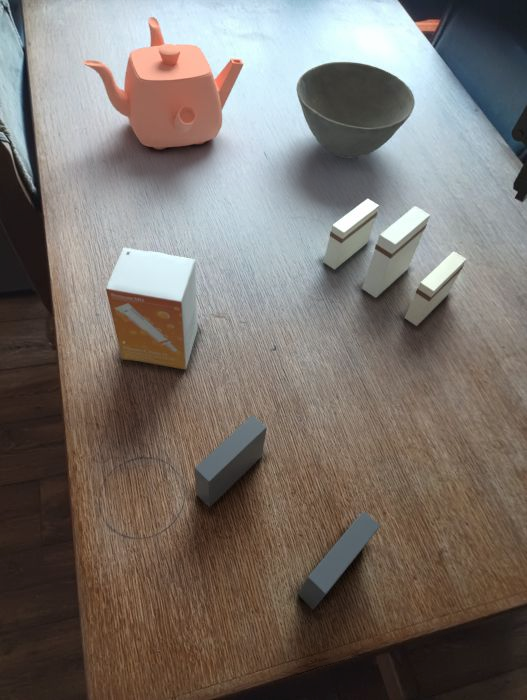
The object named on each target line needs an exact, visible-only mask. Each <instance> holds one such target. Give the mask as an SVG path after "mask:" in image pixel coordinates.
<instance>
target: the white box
mask: <svg viewBox="0 0 527 700" xmlns="http://www.w3.org/2000/svg"><path fill="white" fill-rule="evenodd" d="M430 217H431V214H429V213H428V212H426V211H425V210H423V209H421V208H419V207H418V206H416V205H415V206H413V207H412V208H411V209H409V210H408V211H406V213H404V214H403V215H402V216H401V217H399V218H398V219H397V220H396V221H394V222H393V223H392V224H391V225H390V226H389V227H387V228H386V229H385V230H384V231H382V232H381V233H380V234H379V236H378V239H377V241H376V244H375V247H374V251H373V254H372V258H371V260H370V263H369V265H368V270H367V272H366V276H365V279H364V281H363V284H362V288H361V289H362V290H363V291H364V292H366V293H367V294H369V295H371V296H372V297H374V298H375V299H376V298H377V297H379V296H380V295H381V294H382V293H383V292H384V291H385V290H386V289H387V288H389V287H390V286H391V285H392V284H393V283H394V282H395V281H396V280H397V279H399V278H400V277H401V276H402V275H403V274H404V273H405V272H406V271H407V270H408V269H409V267H410V265H411V262H412V260H413V258H414V255H415V253H416V250H417V248H418V247H419V244H420V241H421V238H422V237H423V233H424V231H425V229H426V228H427V226H428V225H427V224H428V222H429V219H430Z"/></svg>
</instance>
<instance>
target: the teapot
mask: <svg viewBox="0 0 527 700" xmlns="http://www.w3.org/2000/svg"><path fill="white" fill-rule="evenodd" d="M147 22H148V28H149V35H150V46H146V47H141V48H137V49H133V50H131V51H130V53H129V55H128V59H127V65H126V70H125V75H124V85H123V86H124V88H123V89H122V88H120V87H119V86H118V85H117V83H116V80H115V77H114V75H113V72H112V71H111V69H110V67H109V66H107V64H105V63H103V62H102V61H98V60H90V59H89V60H88V59H87V60H83V61H82V64H83V65H84V66H86V67H89V68H90V69H92V70H94V71H95V72H96V73H97V74H98V75H99V77H100V79H101V81H102V83H103V85H104V88H105V92H106V94H107V97H108V100H109V102H110V103H111V105H112V107H113V108H114V109H115V111H117V112H118V113H119V114H121V115H122V116H124V117H127V120H128V121H129V124H130V126H131V129H132V130H133V132H134V135H135V136H136V138H137V139H138V141H139V143H140V144H142V145H143V146H146V147H149V148H154V149H155V150H165V149H166V148H176V147H184V146H190V145H202V144H205V143H206V142H207V141H212V140H214V139H215V138H216V137H217V136H218V134H219V132H220V131H221V128H222V126H223V109H224V107H225V105H226V103H227V100H228V98H229V96H230V94H231V92H232V91H233V88H234V86H235V84H236V81H237V79H238V77H239V75H240V73H241V71H242V69H243V66H244V62H243V60H242V59H241V58H230V59H229V61H228V62H227V64H226V65H225V66H224V67H223V68H222V69H221V71H220V73H219V74H218V75H217V76H216V77H214V74H213V71H212V68H211V66H210V63H209V61H208V59H207V57H206V55H205V54H204V52H203V50H202V49H201V48H200V47H199V46H198V45H194V44H185V43H184V44H183V43H182V44H179V43H178V44H175V43H166V42H165V40H164V36H163V33H162V28H161V25H160V23H159V21H158V20H157V18H155V17H153V16H150V17H148V21H147Z"/></svg>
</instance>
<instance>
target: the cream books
mask: <svg viewBox="0 0 527 700" xmlns="http://www.w3.org/2000/svg"><path fill="white" fill-rule="evenodd" d="M379 207H380V205H379V204H377V203H376V202H374V201H373V200H371V199H369V198H366V199H365V200H364V201H362V202H361V203H360V204H359V205H357V206H355V207H354V208H353V209H352V210H350V211H348V213H346V214H345V215H344V216H342V217H341V218H340V219H339V220H336V222H335V223H333V224H332V225H331V229H330V232H329V238H328V242H327V246H326V251H325V254H324V259H323V263H324V264H325V265H327V266H328V267H330V268H331V269H332V270H336V269H337V268H338V267H340V266H341V265H342V264H343V263H345V262H346V261H347V260H348V259H350V258H351V257H352V256H353V255H354V254H356V253H357V252H358V251H360V250H361V249H362V248H363V247H364V246H365V245H367V244H368V243H369V239H370V236H371V233H372V231H373V230H372V229H373V227H374V224H375V220H376V217H377V215H378V210H379ZM466 262H467V258H465V257H464V256H462V255H460V254H459V253H457V252H456V251H452V252H451V253H450V254H449V255H448V256H447V257H446V258H445V259H444V260H442V261H441V262H440V263H439V264H438V265H437V266H436V267H435V268H434V269H433V270H432V271H431V272H430V273H429V274H428V275H427V276H426V277H425V278H424V279H422V280H421V281H420V282H419V284H418V286H417V288H416V290H415V294H414V296H413V298H412V300H411V302H410V304H409V307H408V309H407V311H406V314H405V315H404V317H403V318H404V319H406V320H407V321H408V322H410V323H411V324H412V325H414V326H416V327H418V326H419V325H420V324H421V323H422V322H423V321H424V320H425V318H427V317H428V315H430V314H431V313H432V311H433V310H435V309H436V307H438V305H439V304H441V302H442V301H443V300H444V299H445V298H446V297H447V296H448V295H449V293H450V291H451V289H452V288H453V286H454V284H455V282H456V280H457V279H458V277H459V275H460V273H461V271H462V270H463V268H464V266H465V264H466Z"/></svg>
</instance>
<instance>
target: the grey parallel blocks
mask: <svg viewBox="0 0 527 700" xmlns="http://www.w3.org/2000/svg"><path fill="white" fill-rule="evenodd" d="M267 429H268V427H267V425H265V424H264V423H263V422H261V421H260V420H259V419H258V418H257V417H256V416H255V415H253V414H252V415H250V417H248V418H247V420H245V421H244V422H243V423H241V425H240V426H238V428H237V429H236V430H234V431H233V432H232V433H231V434H230V435H229V436H228V437H227V438H226V439H224V440H223V441H222V442H221V443H220V444H219V445H218V446H217V447H216V448H215V449H213V450H212V451H211V452H210V453H209V454H208V455H207V456H206V457H205V458H203V459H202V460H201V461H200V462H198V464H197V465H196V466H195V467H194V480H195V494H196V496H197V497H198V498H199V499H200V500H201V501H202V502H203V503H204V504H205V505H206V506H207V507H208V508H211V507H212V506H213V505H214V504H215V503H216V502H217V501H218V500H219V499H220V498H221V497H222V496H223V495H224V494H225V493H226V492H228V490H229V489H231V487H232V486H233V485H234V484H236V482H238V480H240V478H242V477H243V476H244V474H246V472H248V471H249V470H250V469H251V468H252V467H253V466H254V465H255V464H256V463H257V462H258V461H259V460H260V459H261V458H262V456H263V452H264V446H265V441H266V435H267ZM380 528H381V525H380V524H379V523H378V522H377V521H376V520H374V518H372V517H371V516H370V515H369V514H368V513H366V511H364V510H363V511H361V513H360V514H359V515H358V516H357V517H356V518H355V520H354V521H353V522H352V523H351V525H350V526H348V528H347V530H345V532H344V533H342V535H341V536H340V537H339V538H338V540H337V541H336V542H335V544H334V545H333V546H332V547H331V548H330V549H329V551H328V552H327V553H326V554H325V556H324V557H323V558H322V559H321V561H320V562H319V563H318V564H317V565H316V566H315V568H314V569H313V570H312V571H311V573H309V575H308V576H307V578H306V579H305V580H304V583H303V584H302V586H301V588H300V589H299V591H298V592H297V595H298V597H300V598H301V599H302V600H303V601H304V602H305V603H306V604H307V605H308V606H309V607H310V608H311V609H312V610H315V609H316V608H317V606H318V605H319V604H320V602H321V601H322V600H323V599H324V598H325V597H326V596H327V594H328V593H329V592H330V591H331V589H332V588H333V586H334V585H335V584H336V583H337V582H338V580H339V579H340V578H341V576H343V574H344V573H345V572H346V571H347V569H348V567H350V565H351V564H352V563H353V562H354V561H355V559H356V558H357V557H358V555H359V554H360V553H361V552H362V550H363V549H364V548H365V546H366V545H367V544H368V543H369V541H370V540H371V539H372V538H373V536H374V535H375V534H376V533H377V531H379V530H380Z"/></svg>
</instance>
